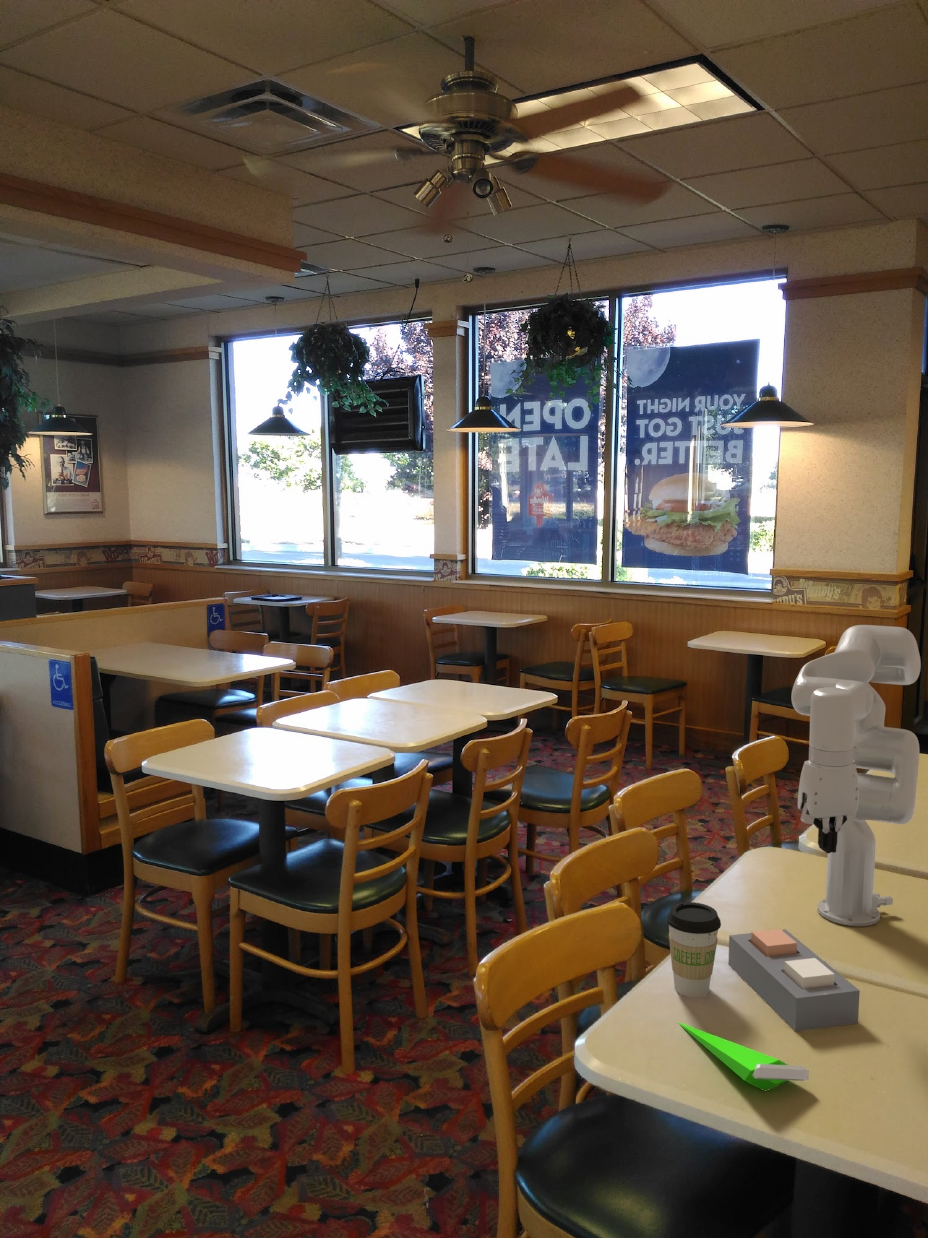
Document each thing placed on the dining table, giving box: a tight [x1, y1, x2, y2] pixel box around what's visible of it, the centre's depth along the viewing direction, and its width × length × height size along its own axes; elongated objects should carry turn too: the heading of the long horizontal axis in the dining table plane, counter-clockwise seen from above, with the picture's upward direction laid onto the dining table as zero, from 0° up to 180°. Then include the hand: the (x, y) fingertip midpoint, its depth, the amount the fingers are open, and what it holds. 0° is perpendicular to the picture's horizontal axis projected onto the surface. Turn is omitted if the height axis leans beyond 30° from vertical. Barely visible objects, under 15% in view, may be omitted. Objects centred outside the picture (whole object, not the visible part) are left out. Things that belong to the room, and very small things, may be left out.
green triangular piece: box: [677, 1021, 810, 1091], centre depth 156 cm, size 11×5×25 cm
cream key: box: [784, 958, 834, 989], centre depth 170 cm, size 6×6×6 cm
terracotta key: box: [750, 928, 797, 957], centre depth 181 cm, size 6×6×6 cm
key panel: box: [728, 929, 860, 1032], centre depth 176 cm, size 12×24×6 cm, turn 12°
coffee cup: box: [665, 901, 722, 998], centre depth 177 cm, size 10×10×15 cm
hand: (827, 850), depth 178 cm, fingers closed
